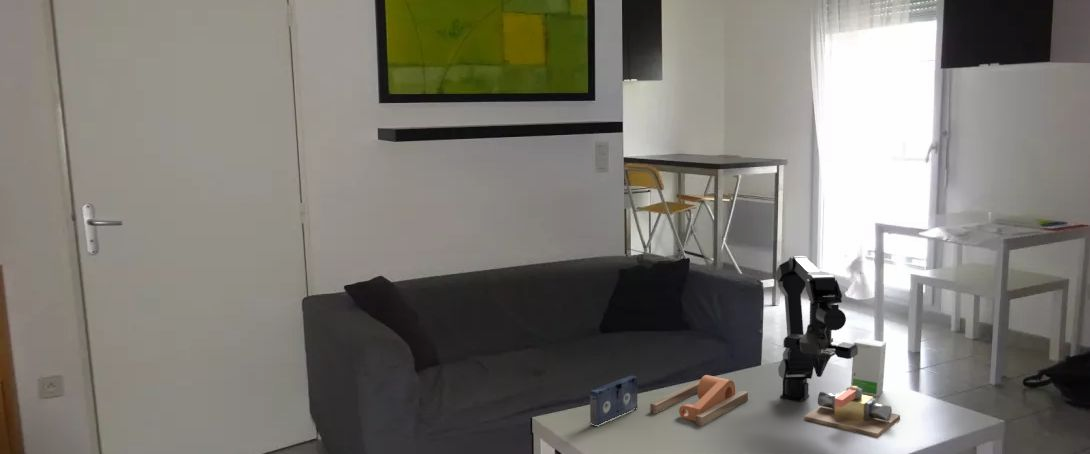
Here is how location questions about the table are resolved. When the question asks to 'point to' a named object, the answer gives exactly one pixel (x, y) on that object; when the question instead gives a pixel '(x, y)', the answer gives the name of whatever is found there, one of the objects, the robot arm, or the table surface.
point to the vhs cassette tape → (613, 400)
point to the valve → (856, 407)
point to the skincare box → (869, 366)
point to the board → (851, 422)
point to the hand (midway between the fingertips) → (819, 376)
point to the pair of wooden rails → (705, 415)
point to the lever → (848, 396)
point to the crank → (708, 395)
